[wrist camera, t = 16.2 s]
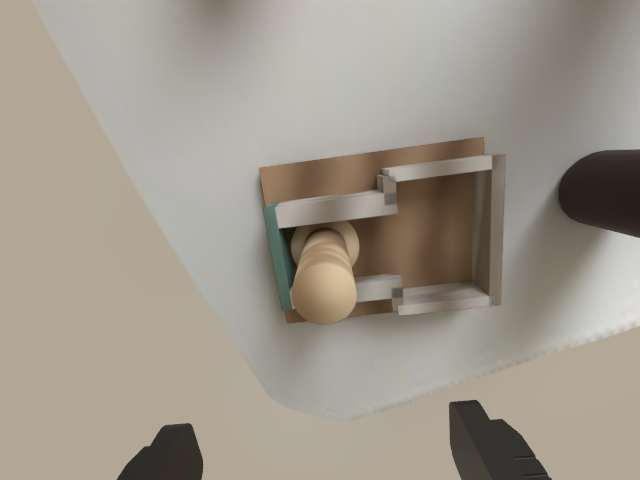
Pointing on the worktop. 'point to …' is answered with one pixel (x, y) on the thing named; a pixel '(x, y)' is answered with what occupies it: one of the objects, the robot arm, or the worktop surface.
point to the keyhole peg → (324, 271)
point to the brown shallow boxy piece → (398, 224)
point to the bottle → (605, 191)
